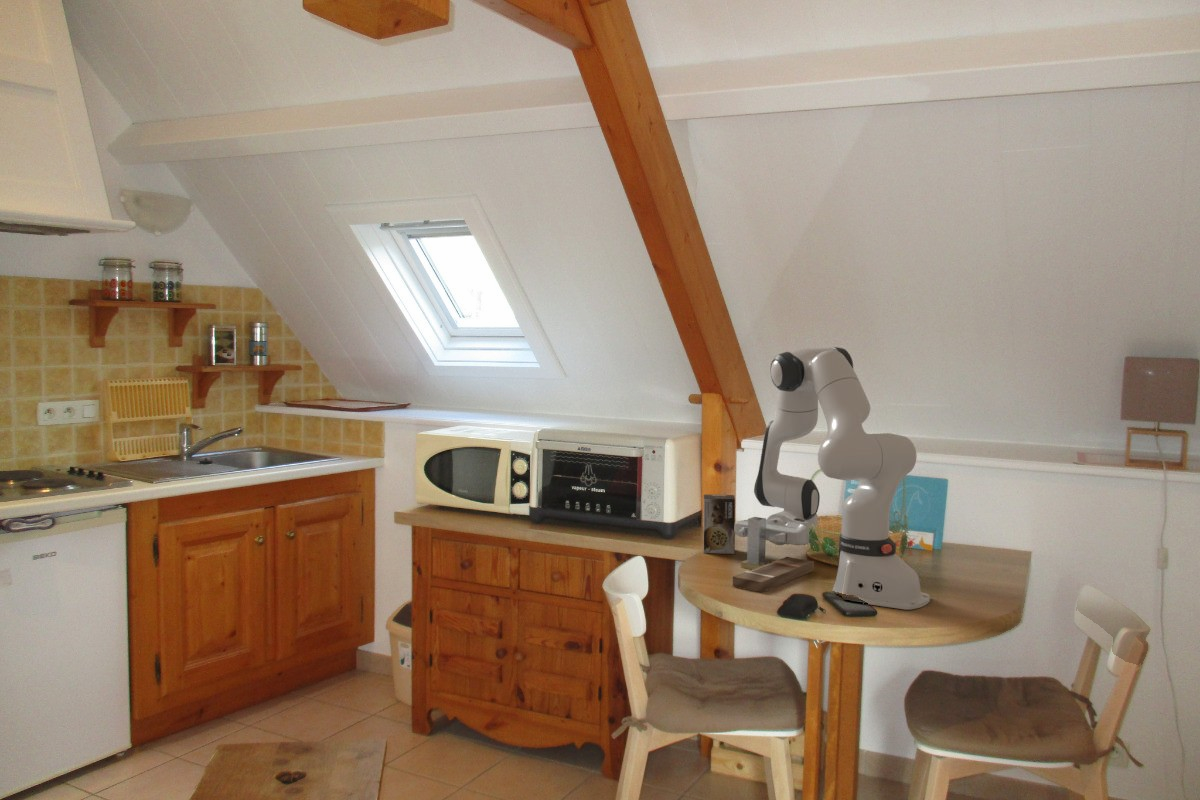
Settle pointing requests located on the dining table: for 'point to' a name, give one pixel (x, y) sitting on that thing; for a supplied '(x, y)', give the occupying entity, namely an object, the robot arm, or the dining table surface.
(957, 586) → the dining table surface
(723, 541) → the coffee box
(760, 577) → the walnut board
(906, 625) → the dining table surface
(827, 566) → the dining table surface
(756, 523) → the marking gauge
